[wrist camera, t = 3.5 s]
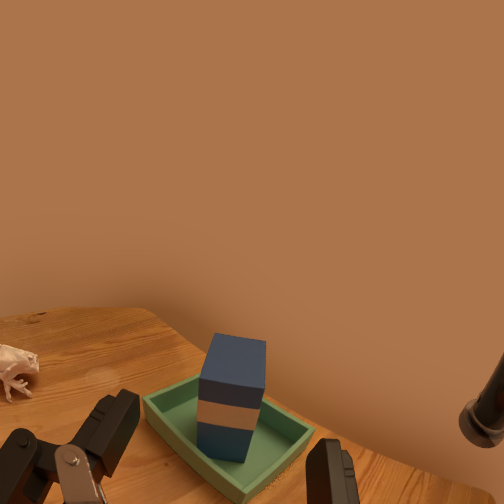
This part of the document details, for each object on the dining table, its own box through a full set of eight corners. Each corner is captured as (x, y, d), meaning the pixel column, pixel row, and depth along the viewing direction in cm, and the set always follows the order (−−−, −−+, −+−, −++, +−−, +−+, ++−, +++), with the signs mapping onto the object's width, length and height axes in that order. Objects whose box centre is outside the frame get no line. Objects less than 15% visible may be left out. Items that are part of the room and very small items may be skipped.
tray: (305, 448, 24) (316, 428, 23) (240, 508, 16) (246, 494, 15) (214, 386, 34) (216, 364, 33) (145, 419, 25) (141, 397, 24)
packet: (249, 418, 28) (266, 340, 25) (244, 464, 21) (265, 389, 18) (207, 411, 28) (214, 332, 25) (195, 455, 21) (198, 377, 18)
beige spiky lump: (41, 366, 21) (-43, 360, 12) (49, 412, 21) (-29, 410, 12) (34, 330, 29) (-30, 325, 20) (38, 369, 29) (-24, 366, 20)
